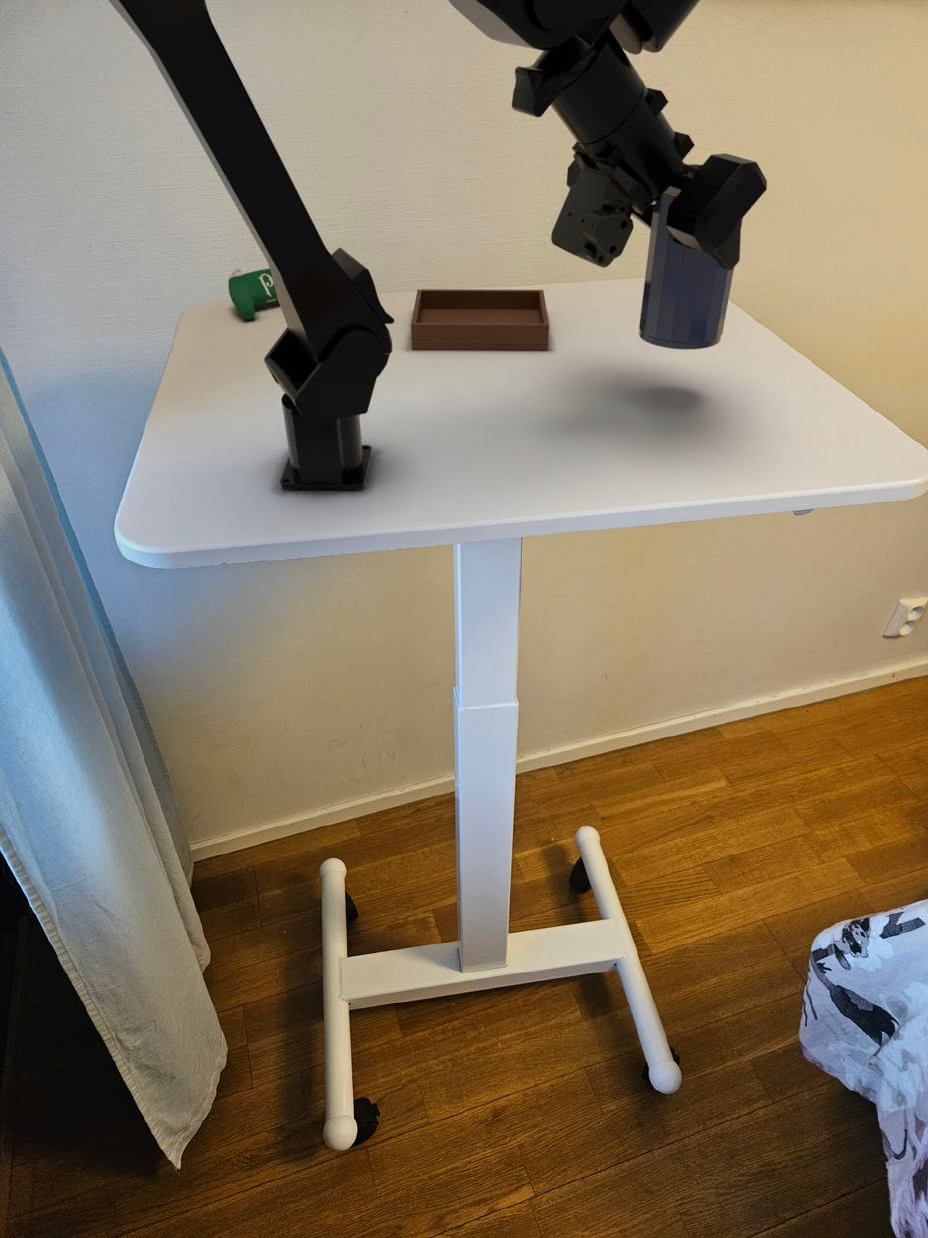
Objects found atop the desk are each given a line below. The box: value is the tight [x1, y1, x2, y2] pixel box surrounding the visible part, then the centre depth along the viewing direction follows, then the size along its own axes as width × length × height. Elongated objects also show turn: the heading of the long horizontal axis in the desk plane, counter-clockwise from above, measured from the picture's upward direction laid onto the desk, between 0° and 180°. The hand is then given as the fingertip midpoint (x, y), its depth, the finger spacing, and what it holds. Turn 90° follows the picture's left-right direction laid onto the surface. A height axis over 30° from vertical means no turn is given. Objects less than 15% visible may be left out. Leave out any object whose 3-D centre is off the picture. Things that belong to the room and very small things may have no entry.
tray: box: [410, 288, 550, 351], centre depth 91 cm, size 11×14×3 cm
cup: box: [638, 163, 744, 351], centre depth 71 cm, size 7×7×13 cm
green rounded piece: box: [228, 267, 279, 321], centre depth 96 cm, size 9×4×6 cm
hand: (704, 253), depth 71 cm, fingers closed on cup, 7 cm apart
